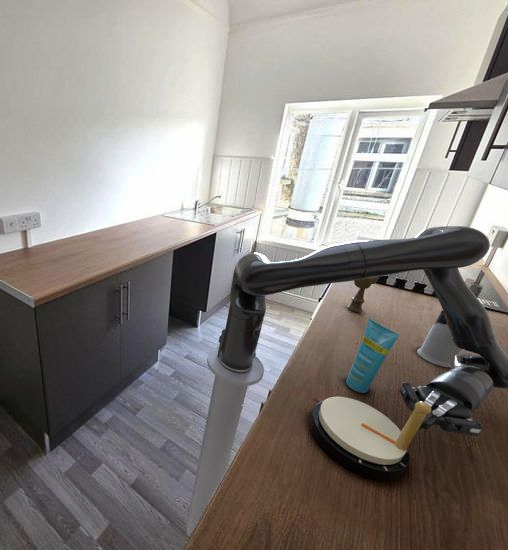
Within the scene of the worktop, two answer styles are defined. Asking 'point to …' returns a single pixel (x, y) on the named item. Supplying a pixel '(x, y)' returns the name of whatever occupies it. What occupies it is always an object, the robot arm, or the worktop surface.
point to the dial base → (350, 460)
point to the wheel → (369, 429)
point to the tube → (370, 355)
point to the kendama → (361, 293)
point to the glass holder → (439, 344)
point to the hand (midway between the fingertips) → (417, 423)
